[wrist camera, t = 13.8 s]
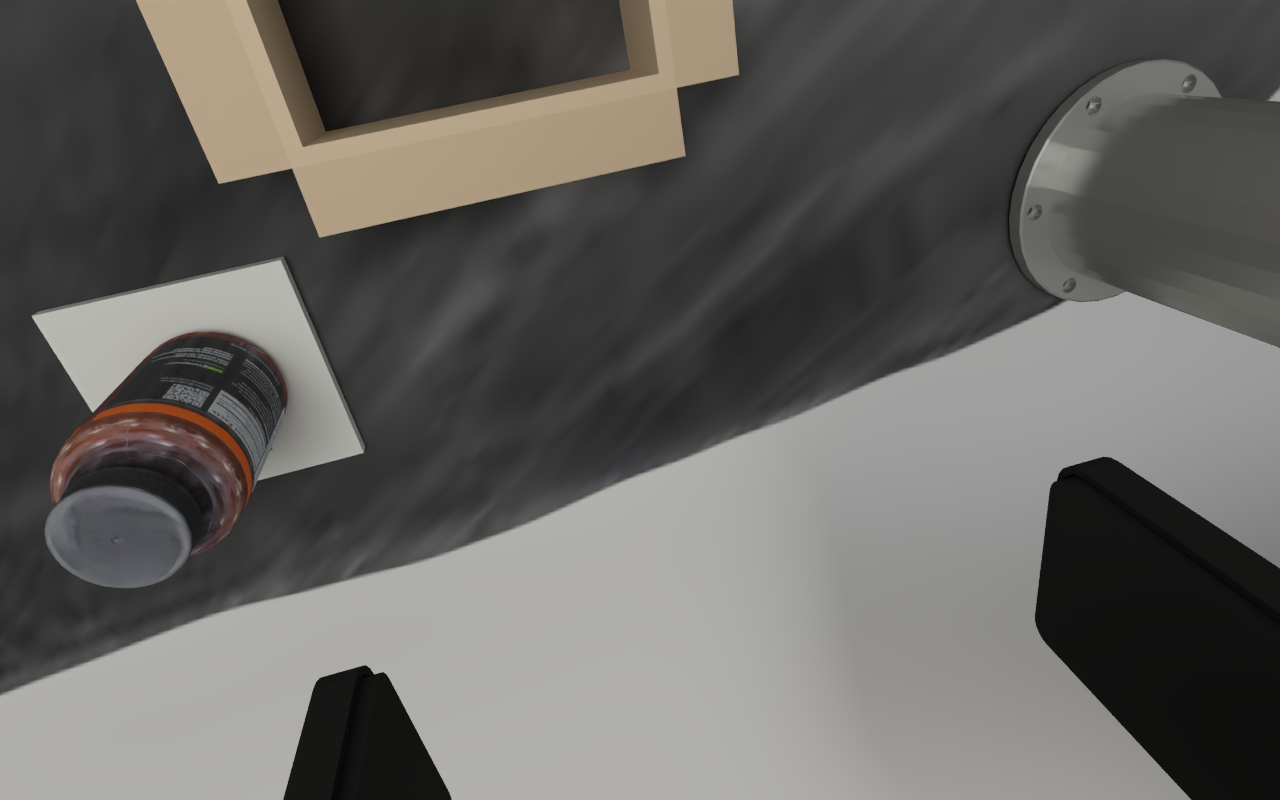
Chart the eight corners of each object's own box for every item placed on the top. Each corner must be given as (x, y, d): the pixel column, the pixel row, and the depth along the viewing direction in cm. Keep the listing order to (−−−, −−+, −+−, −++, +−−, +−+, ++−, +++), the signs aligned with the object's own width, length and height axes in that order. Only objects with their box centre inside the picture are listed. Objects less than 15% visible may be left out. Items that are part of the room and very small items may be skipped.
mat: (283, 256, 31) (280, 260, 30) (365, 446, 35) (363, 452, 35) (38, 311, 29) (31, 316, 29) (157, 500, 34) (153, 507, 34)
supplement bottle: (175, 456, 33) (54, 633, 23) (119, 338, 30) (-45, 482, 20) (308, 432, 34) (248, 591, 24) (267, 316, 31) (179, 442, 21)
